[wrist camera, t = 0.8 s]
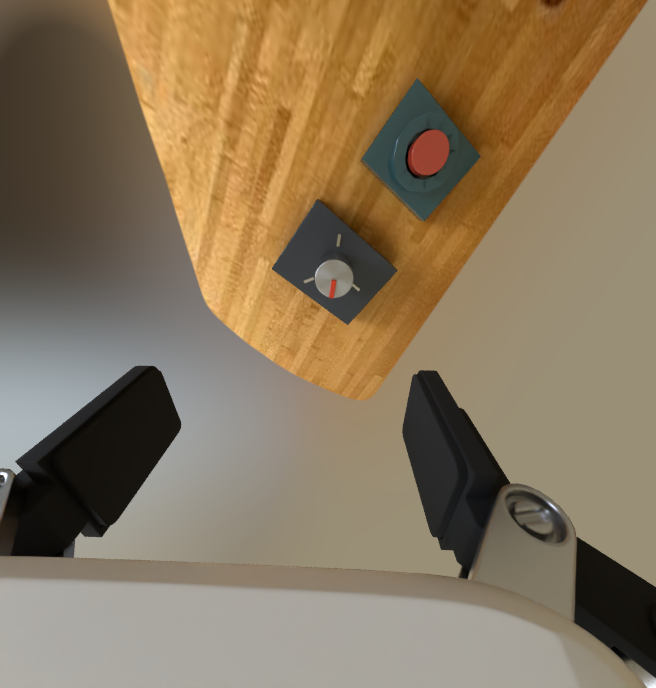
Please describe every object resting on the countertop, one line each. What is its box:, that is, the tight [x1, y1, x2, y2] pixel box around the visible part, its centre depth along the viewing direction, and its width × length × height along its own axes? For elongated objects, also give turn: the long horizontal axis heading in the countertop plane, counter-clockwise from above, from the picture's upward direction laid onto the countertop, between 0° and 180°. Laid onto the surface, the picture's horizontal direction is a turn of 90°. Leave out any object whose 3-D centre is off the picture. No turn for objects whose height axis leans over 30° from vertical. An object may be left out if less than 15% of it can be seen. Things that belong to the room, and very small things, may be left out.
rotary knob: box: [315, 252, 353, 299], centre depth 31 cm, size 4×4×5 cm
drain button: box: [408, 129, 449, 177], centre depth 25 cm, size 4×4×2 cm
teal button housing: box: [360, 78, 481, 221], centre depth 27 cm, size 10×8×4 cm
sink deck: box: [272, 199, 398, 325], centre depth 34 cm, size 13×10×3 cm
